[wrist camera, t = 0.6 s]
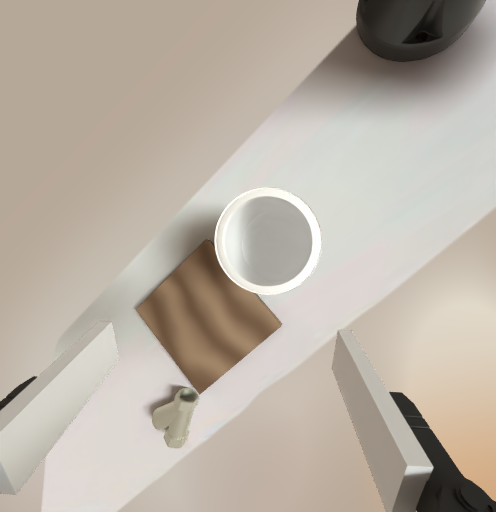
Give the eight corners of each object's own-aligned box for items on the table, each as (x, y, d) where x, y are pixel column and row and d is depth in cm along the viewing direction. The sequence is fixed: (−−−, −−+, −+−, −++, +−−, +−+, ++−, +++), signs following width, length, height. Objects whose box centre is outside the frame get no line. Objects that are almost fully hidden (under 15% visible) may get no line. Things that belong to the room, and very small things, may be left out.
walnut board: (209, 240, 40) (206, 239, 39) (281, 323, 37) (281, 326, 36) (141, 307, 43) (135, 309, 42) (203, 389, 40) (199, 394, 39)
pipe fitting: (159, 417, 43) (190, 436, 41) (143, 431, 39) (176, 453, 37) (170, 376, 43) (202, 393, 40) (155, 387, 39) (189, 406, 37)
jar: (236, 253, 39) (194, 252, 24) (272, 200, 37) (252, 166, 23) (289, 293, 37) (278, 318, 22) (330, 239, 35) (347, 227, 21)
